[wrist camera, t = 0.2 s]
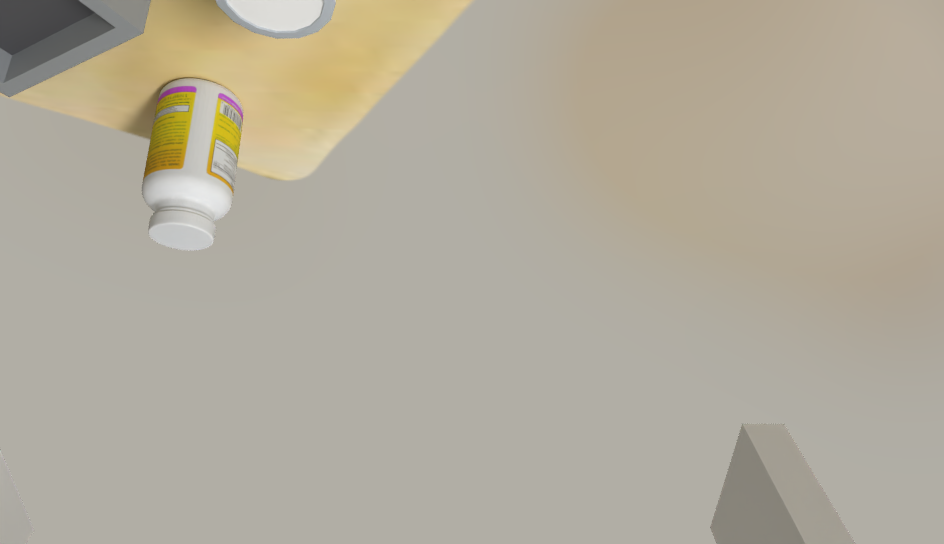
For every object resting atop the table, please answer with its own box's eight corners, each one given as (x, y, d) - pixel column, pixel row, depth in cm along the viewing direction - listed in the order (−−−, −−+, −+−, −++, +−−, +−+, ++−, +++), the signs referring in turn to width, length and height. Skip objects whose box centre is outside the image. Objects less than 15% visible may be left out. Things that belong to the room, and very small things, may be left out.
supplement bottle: (153, 108, 60) (125, 244, 54) (168, 63, 55) (140, 208, 49) (233, 132, 63) (214, 262, 58) (254, 91, 58) (236, 230, 53)
